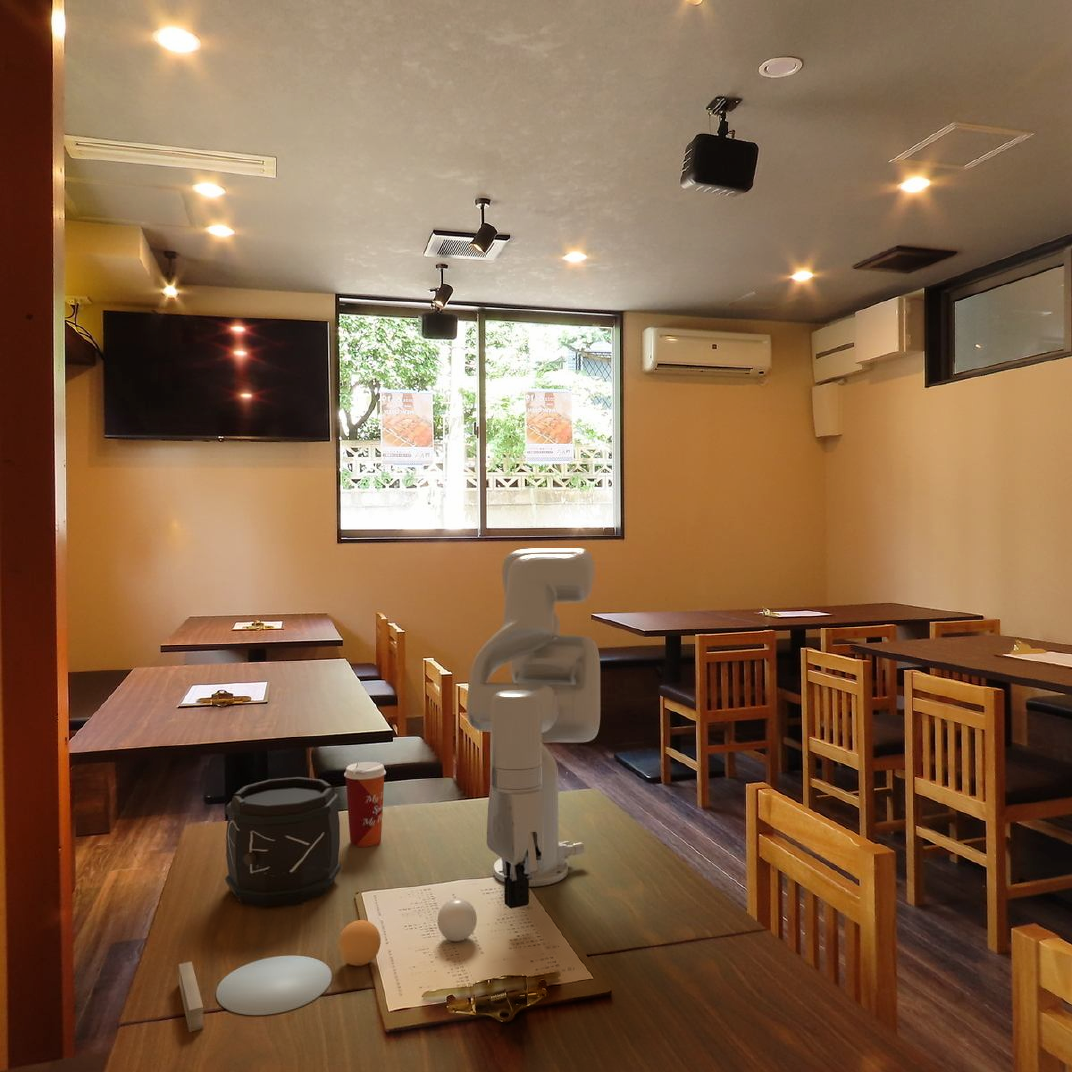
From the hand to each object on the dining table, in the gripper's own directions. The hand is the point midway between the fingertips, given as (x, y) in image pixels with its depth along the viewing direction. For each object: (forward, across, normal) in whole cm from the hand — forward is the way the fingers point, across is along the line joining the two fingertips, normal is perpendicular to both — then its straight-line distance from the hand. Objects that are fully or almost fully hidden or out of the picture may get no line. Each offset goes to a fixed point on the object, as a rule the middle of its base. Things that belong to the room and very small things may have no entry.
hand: (516, 904), depth 124 cm
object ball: (+1, -1, -23) cm, 23 cm away
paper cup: (+2, -45, -9) cm, 46 cm away
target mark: (+4, -1, -34) cm, 34 cm away
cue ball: (+1, -1, -9) cm, 9 cm away
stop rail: (+4, -1, -44) cm, 44 cm away
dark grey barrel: (+3, -31, -27) cm, 41 cm away
